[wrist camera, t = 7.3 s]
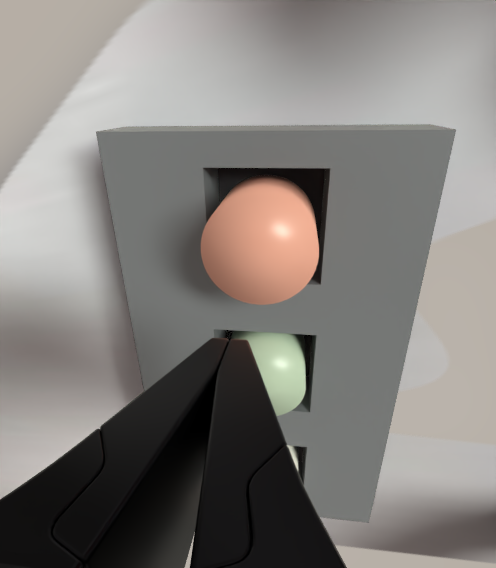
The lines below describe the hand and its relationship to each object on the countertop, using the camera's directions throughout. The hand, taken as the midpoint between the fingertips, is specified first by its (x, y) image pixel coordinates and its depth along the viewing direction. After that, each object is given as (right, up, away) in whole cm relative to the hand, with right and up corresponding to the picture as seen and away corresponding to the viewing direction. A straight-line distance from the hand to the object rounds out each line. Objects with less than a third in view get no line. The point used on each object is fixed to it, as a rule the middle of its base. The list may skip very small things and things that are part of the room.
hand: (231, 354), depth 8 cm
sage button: (+2, -2, +14) cm, 14 cm away
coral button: (+1, +4, +8) cm, 10 cm away
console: (+2, -2, +14) cm, 14 cm away
